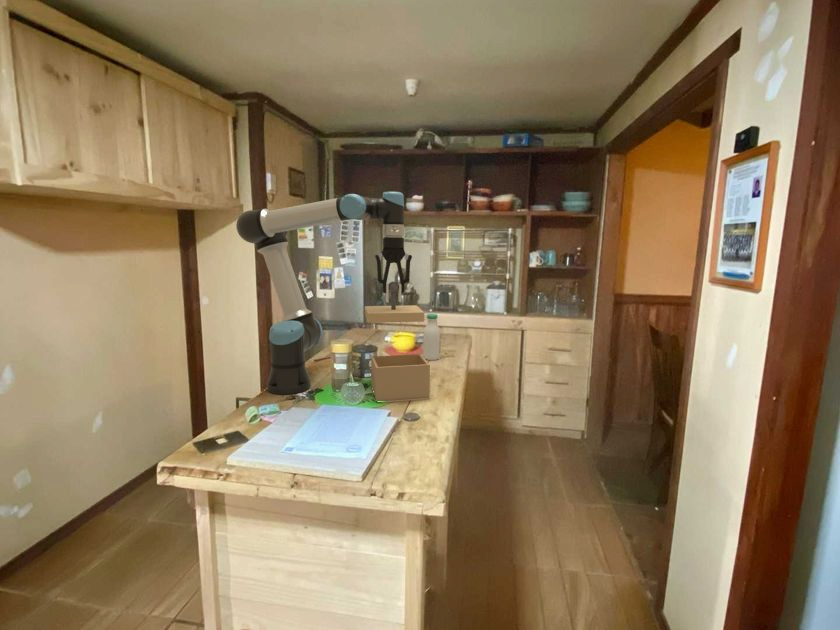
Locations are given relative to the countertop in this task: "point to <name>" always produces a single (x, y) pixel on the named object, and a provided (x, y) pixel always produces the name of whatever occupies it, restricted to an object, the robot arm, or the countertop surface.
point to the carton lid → (393, 311)
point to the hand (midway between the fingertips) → (393, 301)
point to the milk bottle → (431, 339)
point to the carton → (400, 377)
